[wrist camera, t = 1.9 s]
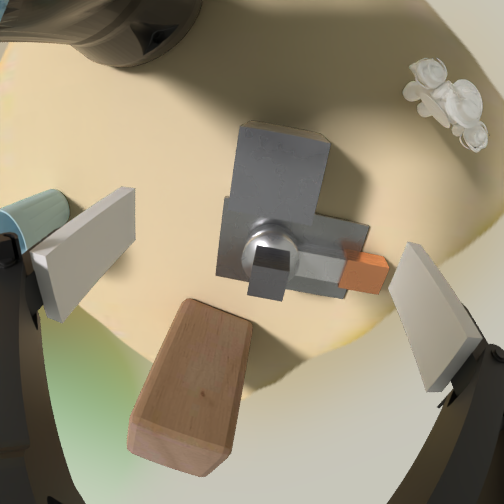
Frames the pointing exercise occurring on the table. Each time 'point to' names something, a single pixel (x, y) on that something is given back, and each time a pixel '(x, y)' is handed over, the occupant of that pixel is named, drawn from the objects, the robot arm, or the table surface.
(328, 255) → the lever
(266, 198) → the grey metal cube
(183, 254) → the table surface
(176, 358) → the wooden block
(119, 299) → the table surface
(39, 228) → the cup
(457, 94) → the hat wearing toy figure
